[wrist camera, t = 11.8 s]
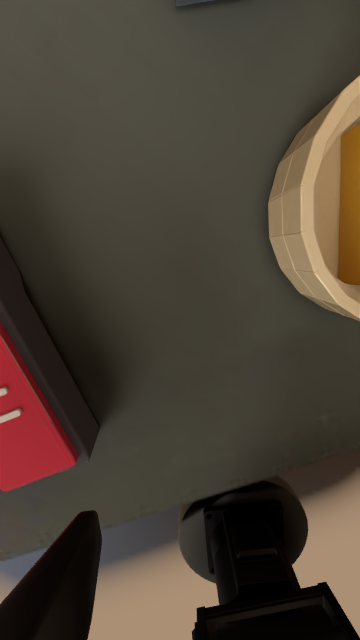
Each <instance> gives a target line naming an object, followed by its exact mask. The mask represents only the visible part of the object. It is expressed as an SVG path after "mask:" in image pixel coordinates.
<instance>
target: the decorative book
mask: <svg viewBox="0 0 360 640" xmlns="http://www.w3.org/2000/svg"><path fill="white" fill-rule="evenodd" d="M208 1H214V0H175V2H176V7H177V6H184V5H190V4H196V3H202V2H208Z"/></svg>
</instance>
